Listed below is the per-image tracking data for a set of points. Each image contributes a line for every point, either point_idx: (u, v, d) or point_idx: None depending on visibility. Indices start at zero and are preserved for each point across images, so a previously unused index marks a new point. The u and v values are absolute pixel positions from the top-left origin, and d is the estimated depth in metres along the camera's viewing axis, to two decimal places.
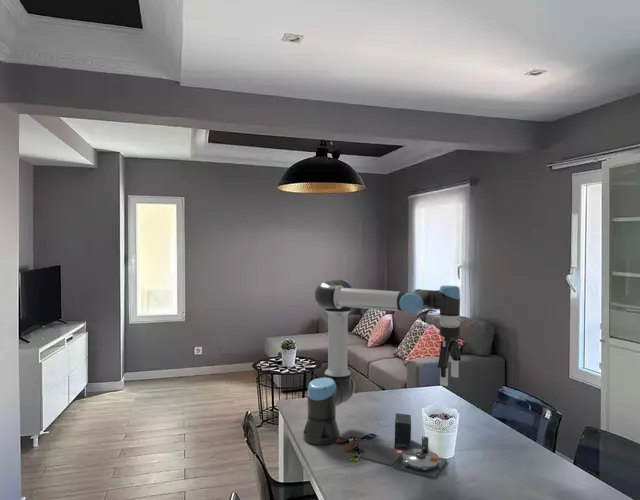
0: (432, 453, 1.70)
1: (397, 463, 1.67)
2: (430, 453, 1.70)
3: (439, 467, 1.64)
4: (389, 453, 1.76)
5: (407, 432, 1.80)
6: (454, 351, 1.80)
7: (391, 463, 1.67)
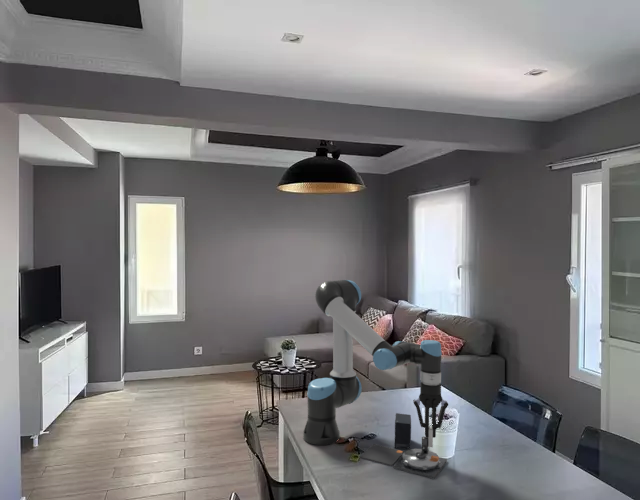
0: (432, 453, 1.70)
1: (397, 463, 1.67)
2: (430, 453, 1.70)
3: (439, 467, 1.64)
4: (389, 453, 1.76)
5: (407, 432, 1.80)
6: (432, 413, 1.71)
7: (391, 463, 1.67)
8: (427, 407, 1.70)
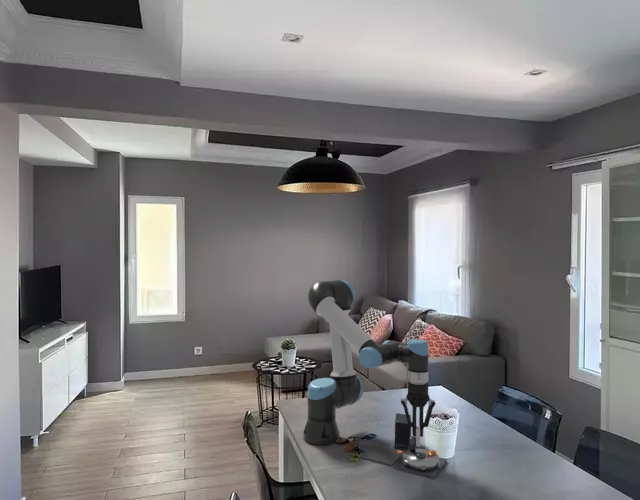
0: (419, 449, 1.73)
1: (397, 463, 1.67)
2: (418, 450, 1.73)
3: (439, 467, 1.64)
4: (389, 453, 1.76)
5: (407, 432, 1.80)
6: (419, 412, 1.71)
7: (391, 463, 1.67)
8: (414, 406, 1.71)
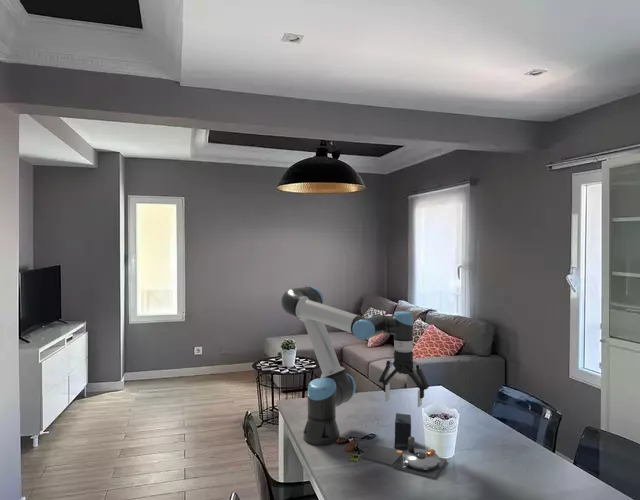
0: (417, 449, 1.73)
1: (397, 463, 1.67)
2: (417, 450, 1.73)
3: (439, 467, 1.64)
4: (389, 453, 1.76)
5: (407, 432, 1.80)
6: None
7: (391, 463, 1.67)
8: (395, 370, 1.86)
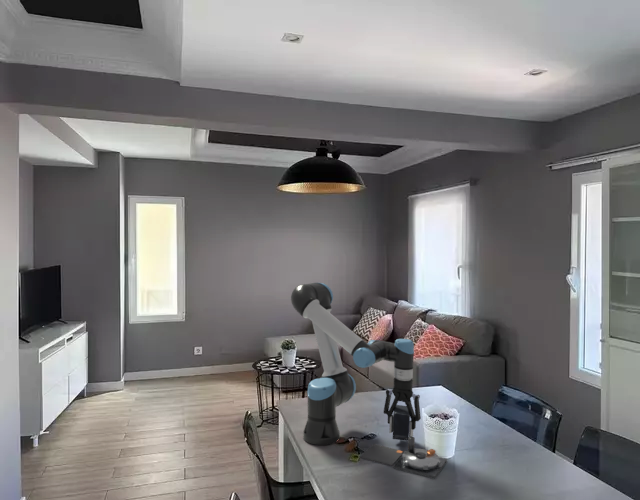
0: (417, 449, 1.73)
1: (397, 463, 1.67)
2: (417, 450, 1.73)
3: (439, 467, 1.64)
4: (389, 453, 1.76)
5: (405, 423, 1.81)
6: None
7: (391, 463, 1.67)
8: (395, 399, 1.86)
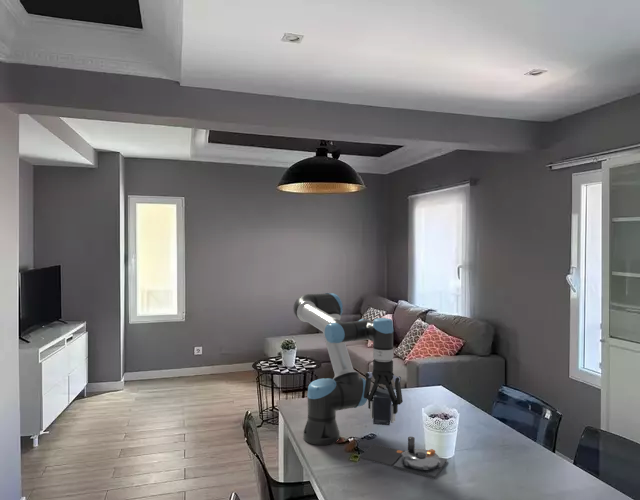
0: (417, 449, 1.73)
1: (397, 463, 1.67)
2: (417, 450, 1.73)
3: (439, 467, 1.64)
4: (389, 453, 1.76)
5: (386, 407, 1.70)
6: None
7: (391, 463, 1.67)
8: (375, 382, 1.75)
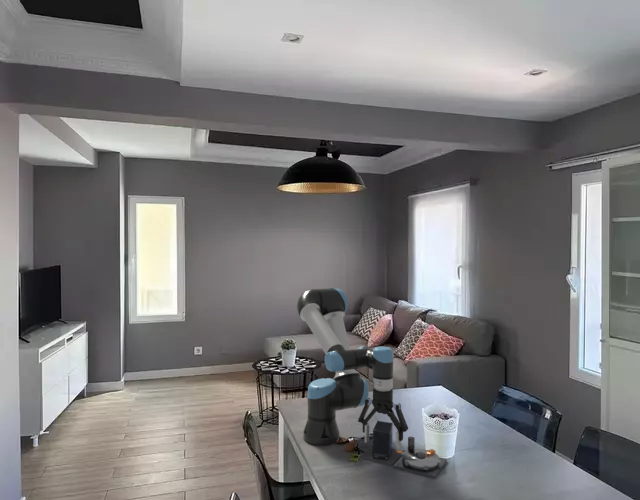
0: (417, 449, 1.73)
1: (397, 463, 1.67)
2: (417, 450, 1.73)
3: (439, 467, 1.64)
4: None
5: (385, 441, 1.70)
6: None
7: (391, 463, 1.67)
8: (374, 410, 1.75)
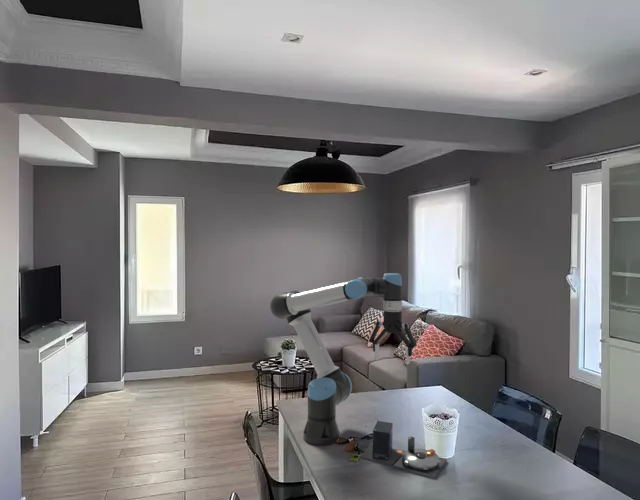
0: (417, 449, 1.73)
1: (397, 463, 1.67)
2: (417, 450, 1.73)
3: (439, 467, 1.64)
4: None
5: (385, 441, 1.70)
6: None
7: (391, 463, 1.67)
8: (384, 330, 1.91)
